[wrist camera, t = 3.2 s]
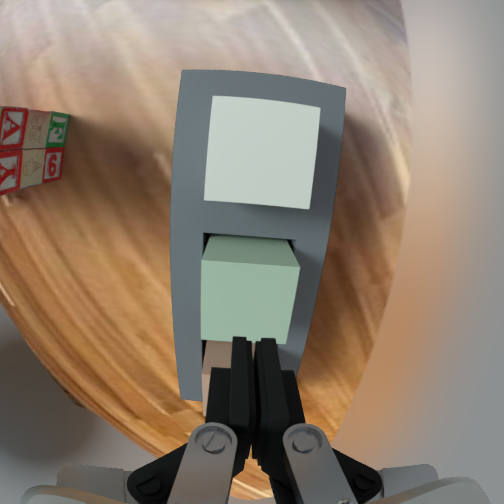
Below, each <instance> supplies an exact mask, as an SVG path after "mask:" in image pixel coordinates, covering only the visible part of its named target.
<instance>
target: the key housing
mask: <svg viewBox="0 0 504 504" xmlns="http://www.w3.org/2000/svg"><path fill="white" fill-rule="evenodd" d="M213 96H230V97H245V98H256V99H266V100H274V101H282V102H289V103H296V104H302V105H308V106H314V107H319V108H320V120H319V130H318V140H317V150H316V159H315V168H314V176H313V184H312V192H311V199H310V207H309V209H301V208H292V207H282V206H271V205H260V204H249V203H236V202H222V201H207V200H204V191H205V175H206V162H207V149H208V138H209V127H210V117H211V107H212V98H213ZM345 99H346V88H344V87H340V86H336V85H331V84H327V83H322V82H317V81H312V80H307V79H301V78H295V77H288V76H282V75H274V74H265V73H256V72H244V71H228V70H182V73H181V80H180V88H179V96H178V104H177V113H176V123H175V134H174V147H173V161H172V179H171V207H170V268H171V296H172V314H173V329H174V342H175V353H176V363H177V372H178V381H179V389H180V397H181V399H185V400H193V401H203V396H202V369H203V362H204V356H205V349H206V343H207V340H203V339H201V260H202V257H203V254H204V252H205V249H206V246H207V244H208V241H209V238H210V236H211V233H218V234H231V235H244V236H257V237H270V238H282V239H286V240H287V242H288V244H289V246H290V248H291V250H292V252H293V254H294V256H295V258H296V260H297V262H298V264H299V266H300V271H299V277H298V283H297V289H296V294H295V299H294V305H293V310H292V315H291V320H290V325H289V330H288V335H287V340H286V344H277V349H278V355H279V361H280V366H281V370H293V371H294V373H295V377H297V373H298V370H299V366H300V363H301V359H302V355H303V351H304V348H305V344H306V340H307V336H308V332H309V328H310V324H311V320H312V315H313V311H314V307H315V302H316V298H317V293H318V289H319V284H320V279H321V274H322V269H323V264H324V259H325V254H326V249H327V243H328V238H329V232H330V226H331V220H332V214H333V207H334V201H335V194H336V187H337V179H338V171H339V163H340V155H341V146H342V136H343V125H344V113H345Z"/></svg>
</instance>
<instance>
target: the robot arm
mask: <svg viewBox="0 0 504 504" xmlns="http://www.w3.org/2000/svg"><path fill="white" fill-rule="evenodd" d="M251 445H252V459H257V461H258V466H261V470H262V471H263V472H265V473H266V474H268V475H269V481H270V484H271V488H272V491H273V495H274V498H275V502H276V504H491V503H490V500H489V499H488V497H487V495H486V493H485V492H484V490H483V489H482V487H481V486H480V485H479V484H478V483H477V482H476V481H475V480H473V479H471V478H468V477H449V478H443V479H439V480H438V475H437V472H436V470H435V469H434V467H433V466H430V465H428V464H421V465H413V466H405V467H394V468H383V469H382V470H377V471H376V470H374V469H372V468H371V467H368V466H366V465H364V464H362V463H360V462H358V461H356V460H354V459H352V458H350V457H348V456H347V455H345V454H343V453H340V452H339V451H337V450H335V449H334V448H332V447H331V445H330V443H329V441H328V439H327V437H326V435H325V433H324V432H323V431H322V430H321V429H320V428H319V427H317V426H314V425H312V424H307V423H306V422H305V417H304V413H303V408H302V404H301V399H300V395H299V390H298V386H297V381H296V377H295V373H294V371H293V370H281V366H280V361H279V355H278V349H277V344H276V339H275V338H261V341H256V342H255V350H254V357H253V353H252V341H248V340H247V337H241V336H233V339H232V354H231V368H220V367H211V374H210V382H209V391H208V400H207V409H206V418H205V423H204V424H202V425H199V426H198V427H196V428H195V429H194V430H193V432H192V433H191V435H190V438H189V441H188V443H186V444H184V445H183V446H181V447H179V448H177V449H175V450H174V451H172V452H170V453H168V454H166V455H164V456H162V457H161V458H159V459H157V460H155V461H153V462H151V463H149V464H147V465H145V466H143V467H141V468H139V469H137V470H135V471H124V470H123V469H117V468H106V467H97V466H89V465H83V464H77V463H67V464H64V465H62V466H61V467H60V469H59V471H58V474H57V486H54V485H38V486H33V487H30V488H29V489H28V490H26V491H25V492H24V494H23V495H22V496H21V498H20V499H19V501H18V503H17V504H228V500H229V495H230V490H231V485H232V480H233V477H235V476H236V475H237V474H239V473H240V472H241V471H243V469H244V464H245V459H248V457H249V452H250V447H251Z"/></svg>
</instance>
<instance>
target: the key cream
mask: <svg viewBox="0 0 504 504" xmlns="http://www.w3.org/2000/svg"><path fill="white" fill-rule="evenodd" d="M319 120H320V108H319V107H314V106H308V105H302V104H296V103H289V102H282V101H274V100H266V99H256V98H245V97H230V96H213V98H212V107H211V117H210V127H209V138H208V149H207V162H206V175H205V191H204V200H207V201H222V202H236V203H249V204H260V205H271V206H282V207H292V208H301V209H309V207H310V199H311V192H312V184H313V176H314V168H315V159H316V150H317V140H318V130H319Z"/></svg>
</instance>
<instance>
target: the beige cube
mask: <svg viewBox="0 0 504 504" xmlns="http://www.w3.org/2000/svg"><path fill="white" fill-rule="evenodd" d="M254 350H255V343H252V353H253V357H254ZM231 354H232V342H228V341H215V340H207V343H206V349H205V356H204V362H203V369H202V396H203V415H204V416H206V409H207V400H208V391H209V382H210V374H211V367H220V368H231Z"/></svg>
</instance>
